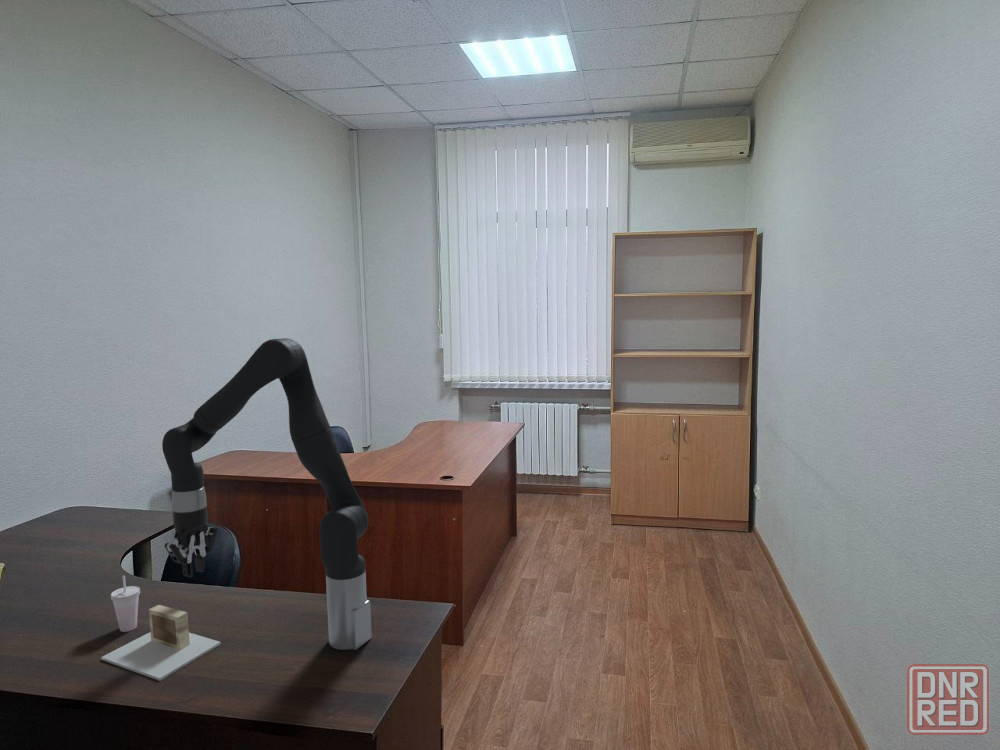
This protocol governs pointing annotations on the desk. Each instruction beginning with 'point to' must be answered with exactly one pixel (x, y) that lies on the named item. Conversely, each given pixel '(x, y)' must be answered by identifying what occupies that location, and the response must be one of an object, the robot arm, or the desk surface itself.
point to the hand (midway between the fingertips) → (194, 573)
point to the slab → (169, 627)
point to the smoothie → (126, 606)
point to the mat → (158, 655)
